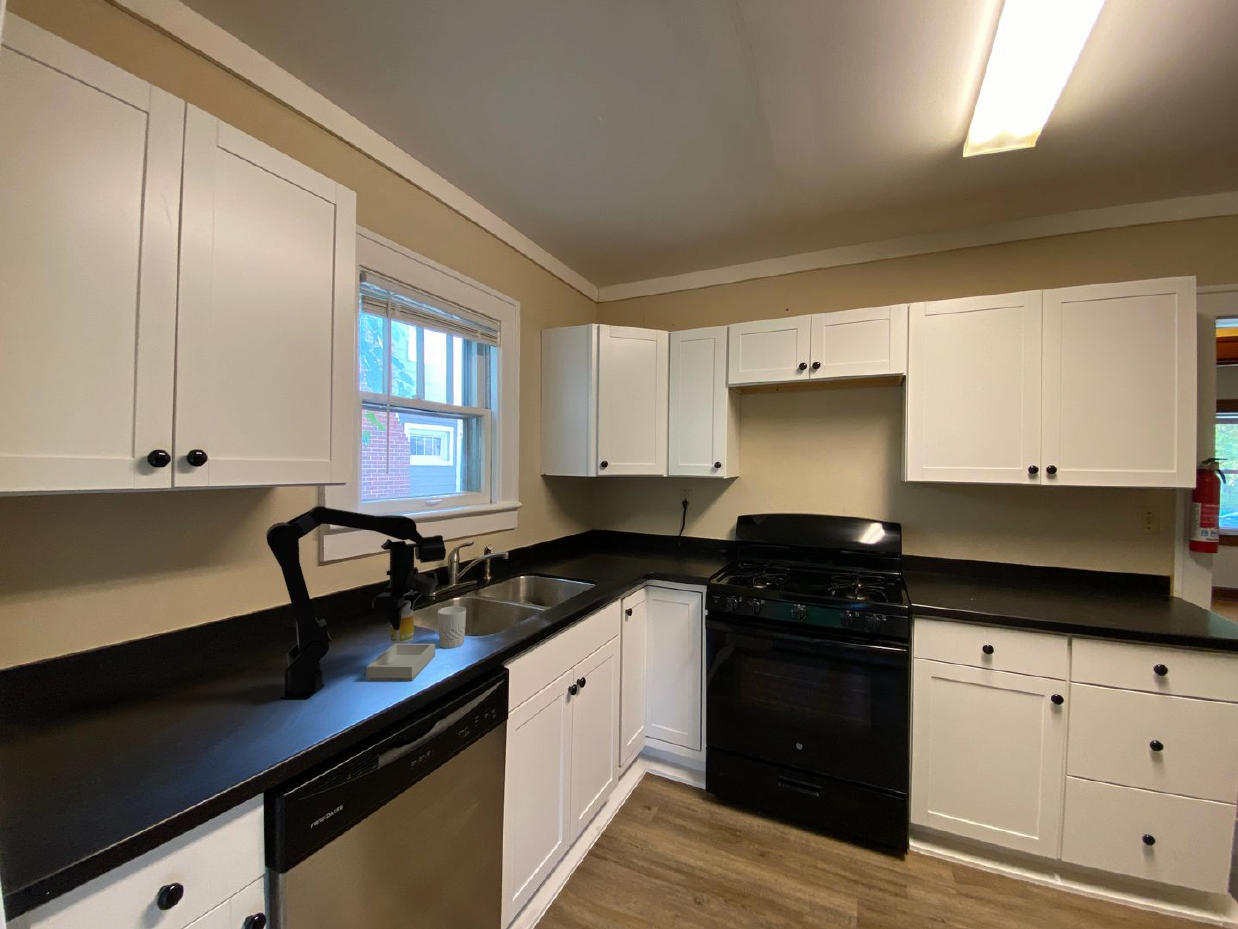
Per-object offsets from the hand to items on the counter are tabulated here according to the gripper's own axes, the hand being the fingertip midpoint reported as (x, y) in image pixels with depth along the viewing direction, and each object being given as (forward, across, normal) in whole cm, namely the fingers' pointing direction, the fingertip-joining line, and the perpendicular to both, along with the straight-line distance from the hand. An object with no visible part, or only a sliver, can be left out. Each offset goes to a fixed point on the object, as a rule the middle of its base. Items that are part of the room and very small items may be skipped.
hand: (402, 626), depth 124 cm
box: (+11, +1, 0) cm, 11 cm away
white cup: (+11, +17, -7) cm, 22 cm away
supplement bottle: (+4, 0, 0) cm, 4 cm away
